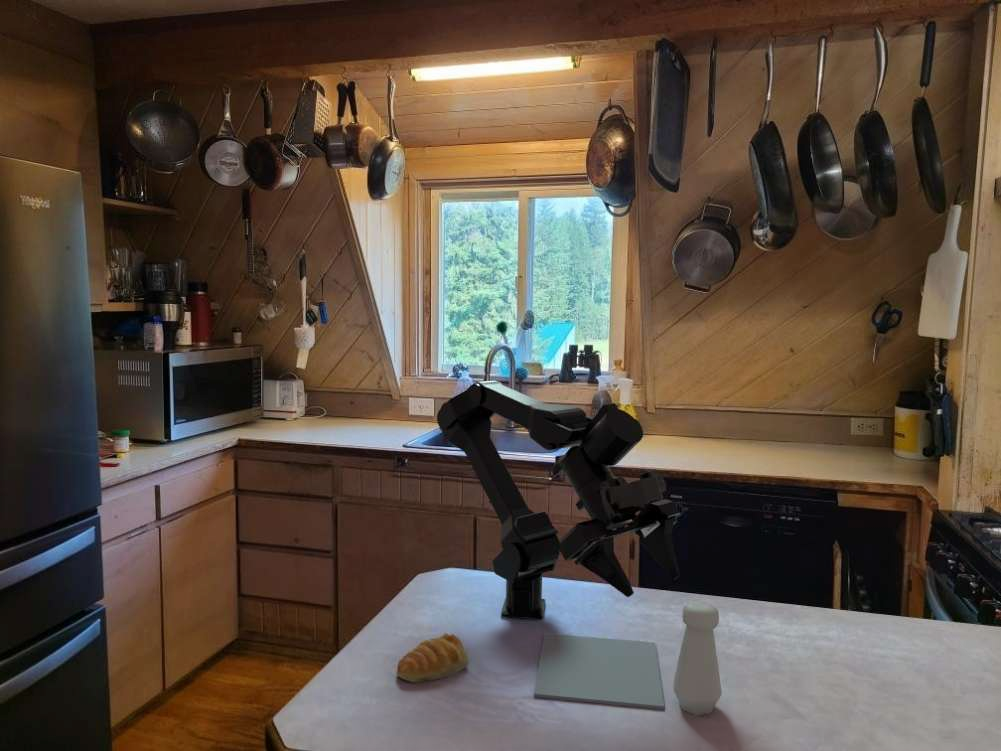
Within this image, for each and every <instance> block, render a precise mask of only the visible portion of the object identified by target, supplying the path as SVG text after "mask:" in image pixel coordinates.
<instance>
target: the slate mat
mask: <svg viewBox="0 0 1001 751" xmlns="http://www.w3.org/2000/svg"><path fill="white" fill-rule="evenodd" d="M541 645H542V647H541V653H540V658H539V661H538V662H539V663H538V669H537V674H536V680H535V685H534V686H535V687H534V692H533V698H535V697H536V698H544V699H554V700H565V701H572V702H574V701H575V702H584V703H585V702H586V703H595V704H606V705H614V706H615V705H617V706H624V707H625V706H626V707H637V708H638V707H639V708H646V709H648V708H649V709H657V710H665V703H664V695H663V688H662V682H661V674H660V667H659V660H658V659H659V658H658V653H657V645H656V642H653V641H640V640H631V639H630V640H629V639H628V640H627V639H620V638H619V639H618V638H607V637H606V638H604V637H592V636H580V635H571V634H570V635H568V634H557V633H546V632H545V633H544V634H543V640H542V644H541Z"/></svg>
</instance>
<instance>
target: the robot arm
mask: <svg viewBox="0 0 1001 751" xmlns="http://www.w3.org/2000/svg"><path fill="white" fill-rule="evenodd" d="M495 415H498V416H500V417H502V418H505V419H507V420H509V421H511V422H512V423H515V424H517V425H519V426H520V427H523V428H524V429H526V430H527V432H528V436H529V437H530V439H531V440H532V441H534V442H535V443H536V444H537V445H539V446H540V447H542V449H544V450H547V451H554V450H560V449H565V448H569V449H568V450H567V451H566V452H565V453H564V454H561V455H556V456H555V458H554V459H555V460H554V465H553V467H552V475H553V476H560V475H563V474H565V476H566V477H567V479H568V481H569V483H570V484H571V486H572V488H573V490H574V492H575V493H576V495H577V496H578V498H579V500H578V501H577V502H576V503H575V506H576V508H577V510H578V511H583V510H585V511H586V513H587V514H588V517H589V518H590V519H588V520H585V521H581V522H577V523H576V524H575V525H574V526H572V528H571V529H570V530H568V531H567V533H566V534H564V536H562V537H561V538H560V539H559V536H558V535H557V534H559V531H558V530H557V529H556V528H555V527H554V525H553V523H552V520H551V519H550V516H549V515H548V513H546V511H543V510H542V511H539V512H535V511H533V510H532V509H531V508H529V506H528V505H527V502H526V501H525V499H524V497H523V495H522V493H521V491H520V490H519V487H518V486H517V484H516V482H515V480H514V478H513V476H512V475H511V473H510V472H509V469H508V468H507V466H506V464H505V462H504V461H503V458H502V457H501V455H500V452H498V451H499V450H497V447H496V446H495V444H494V442H493V441H492V438H491V435H492V433H491V432H492V419H491V418H492V417H494V416H495ZM436 422H437V425H438V426H439V429H440V430H441V432H442V434H443V435H444V436H445V438H446V439H447V441H448V442H449V443H450V444H452V445H454V447H456V448H458V450H459V449H460V450H461V451H463V453H464V454H465V455H466V458H467V460H468V462H469V463H470V465H471V467H472V469H473V471H474V473H475V475H476V478H477V479H478V480H479V483H480V485H481V486H482V489H483V490H484V493H485V494H486V495H487V498H488V501H489V503H490V504H491V505H492V507H493V510H494V512H495V514H496V516H497V518H498V519H499V521H500V524H501V531H500V532H501V535H500V544H501V547H502V550H501V551H500V552H499V553H498V554H497V556H495V557H494V559H493V560H492V565H493V570H494V574H495V575H496V576H498V577H500V578H502V579H504V580H505V581H506V582H505V583H506V584H505V599H504V602H503V605H502V607H501V611H500V616H501V617H506V618H507V617H508V618H519V619H520V618H521V619H531V620H532V619H533V620H534V619H535V620H542V619H543V617H544V612H545V608H546V607H545V606H546V599H545V598H542V597H543V595H542V594H543V574H545V573H548V572H553V571H554V570H555V567H556V564H557V561H558V560H559V556H560V554H561V555H562V557H563V559H564V561H565V562H566V563H567V562H571V561H574V562H573V563H574V564H575V566H579V565H580V566H581V567H584V568H585V569H587V570H589V571H590V572H591V573H593V574H595V575H597V576H598V577H600V578H601V579H602V580H604V581H605V582H606V583H607V584H609V585H610V586H611V587H613V588H614V589H616V590H617V591H619V593H621V594H622V595H624V596H625V598H626V597H627V598H630V597H632V596H633V595H634V589H633V586H632V585H631V582H630V580H629V578H628V577H627V575H626V573H625V571H624V569H623V567H622V565H621V563H620V560H618V558H617V556H616V554H615V538H617V537H621V536H623V535H627V534H630V533H633V532H634V533H635V534H636V535H637V536H639V537H641V538H642V539H641V540H639V543H640V545H641V546H642V547H643V548H644V549H645V550H646V551H647V552H648V553H649V555H651V557H652V559H653V560H654V561H656V563H657V564H658V565H659V566H660V568H662V569H663V571H664V572H665V573H666V574H667V575H668V576H669V577H671V579H672V580H676V579H677V578H679V577H680V570H679V566H678V562H677V558H676V553H675V549H674V543H673V537H672V532H673V528H674V526H675V524H676V523H677V522H678V518H677V517H678V516H680V515H681V511H680V510H679V509H678V507H677V504H676V503H675V502H674V501H673V500H670V499H667V498H666V499H664V496H663V493H664V492H665V491H666V489H667V482H666V481H665V478H664V477H663V476H662V475H661V473H660V472H659V471H658V469H652V470H648V471H646V472H642V473H641V472H640V476H639V479H638V480H634V481H631V482H628V481H627V480H626V478H624V477H622V476H620V477H615V476H614V474H613V472H612V471H611V468H610V467H614V466H616V465H617V464H619V463H620V462H621V461H622V460H623V459H624V458H625V457H626V456H627V454H629V453H630V452H631V451H632V450H633V449H634V448H635V447H636V446H637V445H638V444H639V443H640V442H641V441H642V439H643V437H644V429H643V427H642V425H641V423H640V422H639V420H638V419H636V418H634V417H633V415H631V414H630V413H628V412H627V411H626V410H622V409H621V408H618V406H617V404H616V403H614V402H610V403H604V404H603V405H602V406H601V407H600V408H599V410H598V412H597V413H596V415H595V416H594V417H591V416H588V415H587V413H586V412H585V411H584V409H582V408H581V407H578V406H574V405H567V404H559V403H557V404H554V403H545V402H542V401H540V400H537V399H535V398H533V397H531V396H528V395H526V394H524V393H521V392H520V391H517V390H515V389H513V388H510V387H508V386H507V385H503V383H502V382H500V381H497V380H486V381H485V380H483V381H476V382H474V383H471V385H470V386H469V387H468V388H466V390H464V391H462V392H460V393H459V394H456V395H455V396H453V397H451V398H450V399H449V400H447V401H445V402H444V403H442V404H441V407H440V409H438V411H437V415H436ZM652 501H654V502H652ZM650 502H651V503H650ZM645 505H647V506H646V507H645ZM638 512H639V513H638ZM637 513H638V514H637Z"/></svg>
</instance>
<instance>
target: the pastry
mask: <svg viewBox="0 0 1001 751" xmlns="http://www.w3.org/2000/svg"><path fill="white" fill-rule="evenodd" d="M468 665H469V658H468V654H467V651H466V650H465V647H464V645H463V642H462V640H460V638H459V637H458V636H456V635H455V634H452V633H451V634H448V633H444V634H443V635H441V636H440V637H439V636H437V637H433V638H429V639H425V640H423V641H421V642H420V643H419V644H418V645H417V646H416V647H415V648H413V649H412V650H410V651H408V652H407V653H406V654H405V655H403V657H401V659H400V660H399V661H398V663H397V669H396V670H397V671H396V675H397V676H398V677H399V678H401V679H403V680H405V681H408V682H409V683H419V682H425V681H436V680H440V679H441V678H444V677H445V678H446V677H447V676H450V675H454V674H457V673H459V672H461V671H463V670H465V668H466V667H467V666H468Z"/></svg>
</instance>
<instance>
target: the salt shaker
mask: <svg viewBox="0 0 1001 751" xmlns="http://www.w3.org/2000/svg"><path fill="white" fill-rule="evenodd" d="M682 622H683V623H684V624H685V629H684V634H683V638H682V643H681V645H680V646H681V647H680V651H679V655H678V659H677V663H676V668H675V672H674V677H673V680H672V681H673V692H674V694H675V696H676V698H677V701H678V702H679V705H680V708H681V709H682V710H683V711H686V712H687V713H690V714H692V715H695V716H701V715H709V714H711V713H712V711H713V710H714V708H715V706H716V705H717V703H718V701H719V700H720V699H721V697H722V693H723V692H722V685H721V678H720V671H719V670H720V669H719V662H718V656H717V654H718V653H717V649H716V648H717V646H716V640H715V634H714V633H715V632H714V630H715V629H716V628H717V627H718V625H719V622H720V614H719V609H718V608H717V607H716V606H714V605H713V604H712V603H710V602H707V601H701V600H692V601H688V602H687V603H686V604H684V605H683V608H682Z"/></svg>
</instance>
